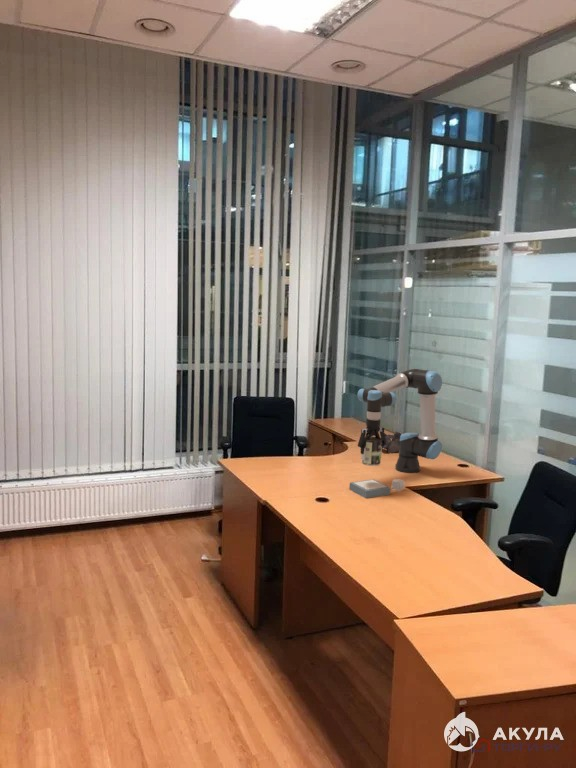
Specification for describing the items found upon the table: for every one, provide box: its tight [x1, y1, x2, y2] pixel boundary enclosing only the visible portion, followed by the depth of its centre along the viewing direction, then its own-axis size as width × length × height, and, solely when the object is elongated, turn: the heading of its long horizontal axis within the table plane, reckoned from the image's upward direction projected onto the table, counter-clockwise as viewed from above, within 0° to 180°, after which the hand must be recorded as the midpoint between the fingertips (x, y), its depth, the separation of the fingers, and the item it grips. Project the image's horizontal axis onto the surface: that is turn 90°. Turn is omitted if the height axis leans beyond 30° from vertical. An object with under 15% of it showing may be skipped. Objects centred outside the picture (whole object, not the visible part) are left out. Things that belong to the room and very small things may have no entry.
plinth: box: [348, 478, 391, 499], centre depth 345 cm, size 16×16×4 cm
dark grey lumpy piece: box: [383, 431, 402, 454], centre depth 432 cm, size 14×15×20 cm
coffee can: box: [361, 436, 382, 467], centre depth 341 cm, size 10×10×14 cm
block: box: [391, 478, 405, 492], centre depth 351 cm, size 5×5×5 cm
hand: (371, 458), depth 342 cm, fingers closed on coffee can, 10 cm apart
